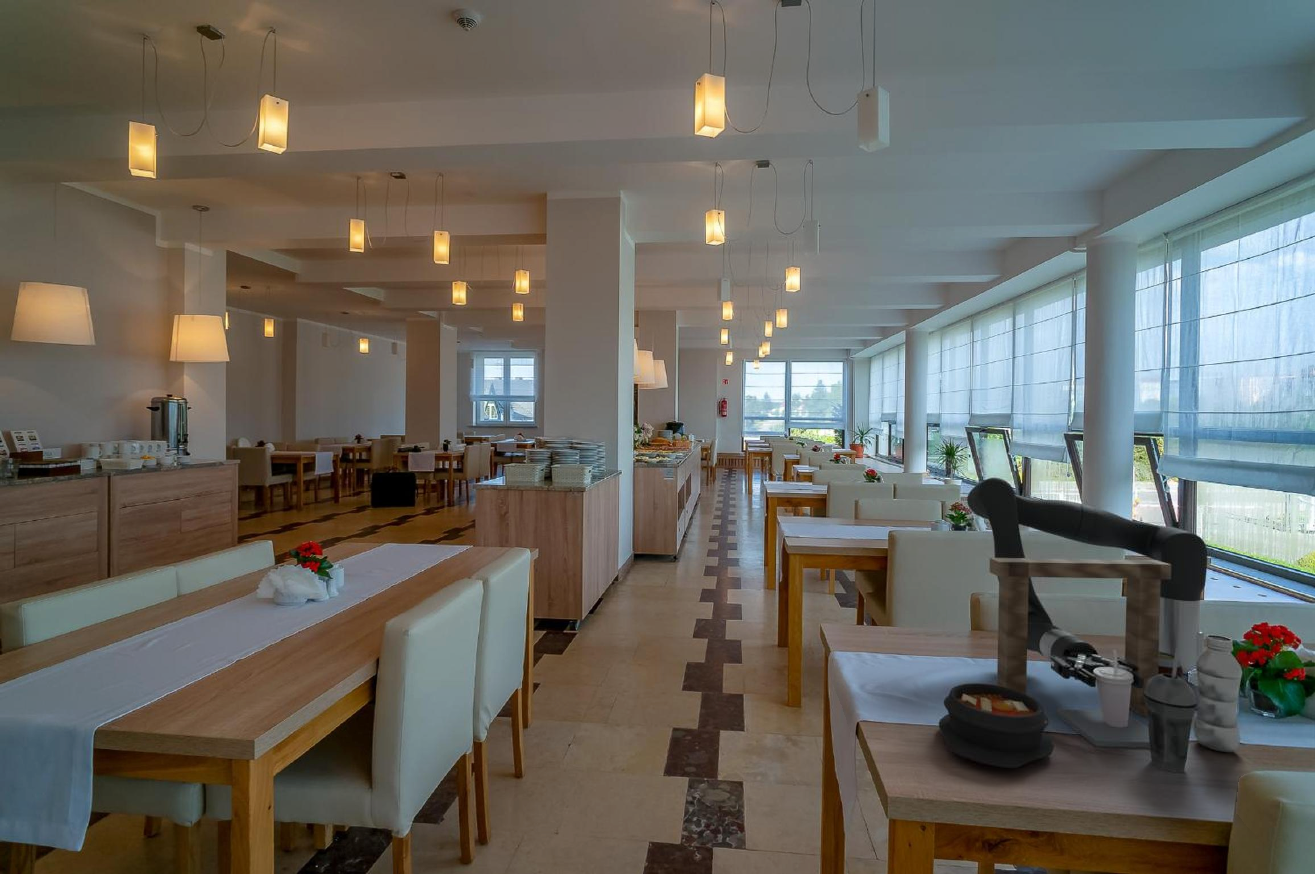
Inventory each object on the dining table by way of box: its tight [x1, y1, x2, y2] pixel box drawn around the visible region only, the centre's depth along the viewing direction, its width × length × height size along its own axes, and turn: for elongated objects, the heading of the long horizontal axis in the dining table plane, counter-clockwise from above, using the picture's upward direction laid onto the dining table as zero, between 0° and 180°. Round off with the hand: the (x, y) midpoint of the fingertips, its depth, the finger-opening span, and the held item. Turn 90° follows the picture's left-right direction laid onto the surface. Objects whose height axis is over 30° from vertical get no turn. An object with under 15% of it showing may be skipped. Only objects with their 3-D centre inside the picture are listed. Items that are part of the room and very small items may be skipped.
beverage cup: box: [1143, 649, 1198, 773], centre depth 113 cm, size 7×7×20 cm
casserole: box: [938, 682, 1055, 769], centre depth 120 cm, size 25×19×8 cm
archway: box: [989, 557, 1171, 719], centre depth 136 cm, size 34×10×30 cm, turn 87°
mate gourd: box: [1158, 637, 1184, 679], centre depth 143 cm, size 8×8×15 cm
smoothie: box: [1093, 649, 1134, 727], centre depth 126 cm, size 6×6×14 cm
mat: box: [1055, 708, 1150, 749], centre depth 126 cm, size 13×13×1 cm
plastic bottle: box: [1192, 634, 1243, 753], centre depth 119 cm, size 6×7×20 cm
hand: (1117, 682), depth 124 cm, fingers open, 8 cm apart
